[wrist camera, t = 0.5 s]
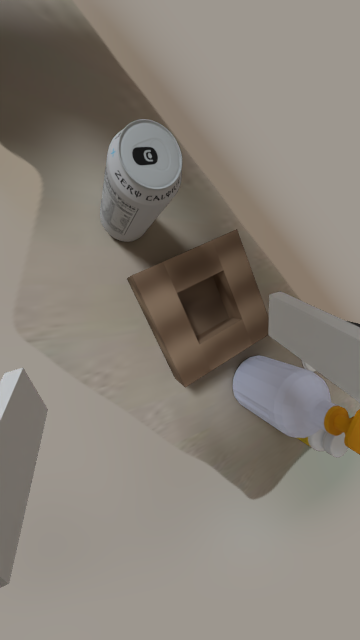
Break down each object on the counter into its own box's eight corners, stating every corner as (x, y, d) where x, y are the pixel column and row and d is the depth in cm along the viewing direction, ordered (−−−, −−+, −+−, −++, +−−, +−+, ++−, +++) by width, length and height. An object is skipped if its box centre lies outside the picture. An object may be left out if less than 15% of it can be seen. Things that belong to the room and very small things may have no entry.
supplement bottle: (279, 434, 44) (329, 469, 35) (274, 407, 43) (324, 435, 34) (301, 422, 46) (354, 452, 37) (297, 396, 45) (350, 420, 36)
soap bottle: (248, 345, 40) (461, 403, 17) (283, 370, 43) (503, 448, 20) (221, 393, 39) (413, 524, 16) (259, 415, 42) (465, 552, 19)
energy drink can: (151, 239, 33) (197, 193, 19) (107, 247, 31) (122, 202, 17) (139, 193, 32) (179, 109, 18) (93, 198, 30) (98, 109, 16)
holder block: (127, 278, 32) (131, 275, 29) (221, 236, 37) (236, 229, 33) (175, 378, 36) (185, 387, 32) (256, 328, 40) (273, 331, 37)
